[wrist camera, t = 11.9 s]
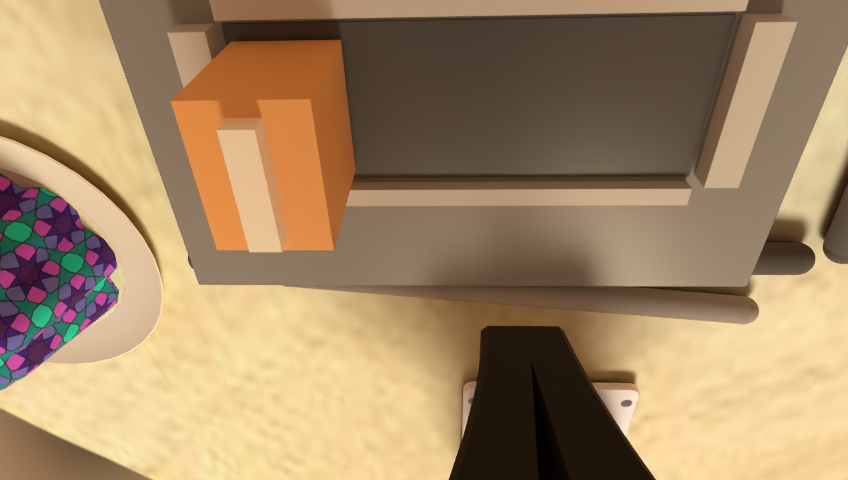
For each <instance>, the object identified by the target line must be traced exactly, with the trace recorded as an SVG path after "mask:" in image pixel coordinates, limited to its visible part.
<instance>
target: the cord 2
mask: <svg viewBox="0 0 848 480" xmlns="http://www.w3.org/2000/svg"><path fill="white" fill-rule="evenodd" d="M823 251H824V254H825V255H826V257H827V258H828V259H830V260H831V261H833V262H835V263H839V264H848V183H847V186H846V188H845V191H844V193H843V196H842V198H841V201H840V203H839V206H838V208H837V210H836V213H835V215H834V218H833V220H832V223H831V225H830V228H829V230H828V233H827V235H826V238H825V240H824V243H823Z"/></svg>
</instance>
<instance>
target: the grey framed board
mask: <svg viewBox="0 0 848 480" xmlns="http://www.w3.org/2000/svg"><path fill="white" fill-rule="evenodd" d="M99 2H100V5H101V8H102V10H103V13H104V16H105V19H106V22H107V25H108V27H109V30H110V33H111V36H112V39H113V42H114V45H115V47H116V50H117V53H118V56H119V59H120V62H121V64H122V67H123V70H124V73H125V76H126V79H127V81H128V84H129V87H130V90H131V93H132V96H133V98H134V101H135V104H136V107H137V110H138V113H139V116H140V118H141V121H142V124H143V127H144V130H145V133H146V135H147V138H148V141H149V144H150V147H151V150H152V152H153V155H154V158H155V161H156V164H157V167H158V169H159V172H160V175H161V178H162V181H163V184H164V187H165V189H166V192H167V195H168V198H169V201H170V204H171V206H172V209H173V212H174V215H175V218H176V221H177V223H178V226H179V229H180V232H181V235H182V238H183V240H184V243H185V246H186V249H187V252H188V255H189V258H190V260H191V263H192V266H193V269H194V272H195V275H196V277H197V280H198V283H199V285H430V286H707V287H747V284H748V282H749V280H750V277H751V275H752V273H753V270H754V268H755V265H756V263H757V261H758V258H759V256H760V253H761V251H762V249H763V246H764V244H765V242H766V239H767V237H768V234H769V232H770V230H771V227H772V225H773V222H774V220H775V218H776V215H777V213H778V211H779V208H780V206H781V203H782V201H783V199H784V196H785V194H786V191H787V189H788V187H789V184H790V182H791V180H792V177H793V175H794V172H795V170H796V168H797V165H798V163H799V160H800V158H801V156H802V153H803V151H804V148H805V146H806V144H807V141H808V139H809V137H810V134H811V132H812V129H813V127H814V125H815V122H816V120H817V117H818V115H819V113H820V110H821V108H822V106H823V103H824V101H825V98H826V96H827V94H828V91H829V89H830V86H831V84H832V82H833V79H834V77H835V75H836V72H837V70H838V67H839V65H840V63H841V60H842V58H843V55H844V53H845V51H846V48H847V46H848V0H99ZM292 40H341V46H342V55H343V63H344V72H345V81H346V90H347V99H348V107H349V116H350V125H351V134H352V143H353V151H354V160H355V169H356V171H355V175H354V178H353V182H352V185H351V189H350V193H349V196H348V200H347V204H346V207H345V211H344V215H343V218H342V222H341V226H340V229H339V233H338V237H337V240H336V244H335V248H334V250H283V252H249V250H217V248H216V245H215V242H214V239H213V236H212V232H211V229H210V226H209V223H208V220H207V216H206V213H205V210H204V207H203V204H202V200H201V197H200V194H199V191H198V188H197V184H196V181H195V178H194V175H193V171H192V168H191V165H190V162H189V159H188V155H187V152H186V149H185V146H184V143H183V139H182V136H181V133H180V130H179V127H178V123H177V120H176V117H175V114H174V111H173V107H172V104H171V100H172V99H173V98H174V97H175V96H176V95H177V94H178V93H179V92H180V91H181V90H182V89H183V88H184V87H185V86H186V85H187V84H188V83H189V82H190V81H191V80H192V79H193V78H194V77H195V76H196V75H197V74H199V73H200V72H201V71H202V70H203V69H204V68H205V67H206V66H207V65H208V64H209V63H210V62H211V61H212V60H213V59H214V58H215V57H216V56H217V55H218V54H219V53H220V52H221V51H222V50H223V49H224V48H225V47H226V46H227V45H228V44H229V43H230V42H232V41H292Z"/></svg>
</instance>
